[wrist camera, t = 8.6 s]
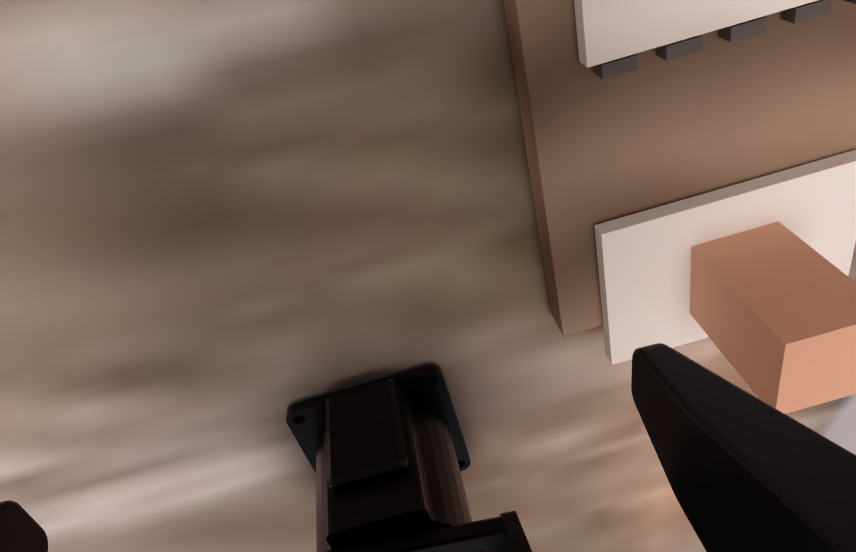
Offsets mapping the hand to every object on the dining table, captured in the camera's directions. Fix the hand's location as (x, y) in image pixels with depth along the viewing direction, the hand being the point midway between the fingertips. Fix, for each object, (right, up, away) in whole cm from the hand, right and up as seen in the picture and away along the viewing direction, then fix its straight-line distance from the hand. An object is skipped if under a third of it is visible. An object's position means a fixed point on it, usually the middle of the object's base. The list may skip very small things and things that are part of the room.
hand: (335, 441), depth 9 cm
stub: (+12, +3, +13) cm, 18 cm away
